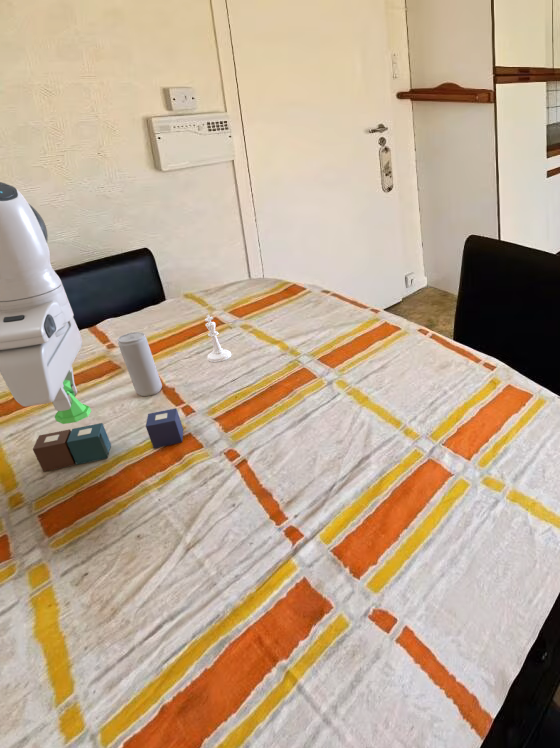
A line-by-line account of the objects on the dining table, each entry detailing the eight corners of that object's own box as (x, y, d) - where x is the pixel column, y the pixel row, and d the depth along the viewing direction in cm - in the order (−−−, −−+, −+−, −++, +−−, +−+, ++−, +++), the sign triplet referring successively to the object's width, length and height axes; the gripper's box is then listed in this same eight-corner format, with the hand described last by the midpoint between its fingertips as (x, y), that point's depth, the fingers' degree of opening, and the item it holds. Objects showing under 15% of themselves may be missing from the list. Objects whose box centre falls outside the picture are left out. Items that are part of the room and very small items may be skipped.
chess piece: (236, 355, 139) (225, 313, 134) (217, 363, 135) (205, 321, 130) (222, 350, 141) (210, 309, 136) (202, 359, 137) (190, 317, 133)
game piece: (98, 408, 91) (84, 372, 88) (77, 424, 87) (61, 387, 84) (71, 407, 91) (56, 371, 88) (48, 423, 87) (32, 385, 84)
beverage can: (159, 383, 128) (141, 329, 122) (166, 391, 125) (147, 337, 119) (134, 390, 125) (114, 336, 120) (139, 399, 122) (119, 344, 116)
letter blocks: (43, 472, 102) (32, 448, 99) (49, 457, 105) (38, 434, 103) (182, 442, 108) (174, 419, 106) (183, 429, 112) (176, 407, 110)
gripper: (23, 289, 89) (58, 375, 95) (-26, 344, 72) (21, 444, 79) (74, 283, 91) (105, 367, 97) (38, 336, 74) (79, 433, 81)
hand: (67, 402), depth 88 cm, fingers closed on game piece, 2 cm apart
